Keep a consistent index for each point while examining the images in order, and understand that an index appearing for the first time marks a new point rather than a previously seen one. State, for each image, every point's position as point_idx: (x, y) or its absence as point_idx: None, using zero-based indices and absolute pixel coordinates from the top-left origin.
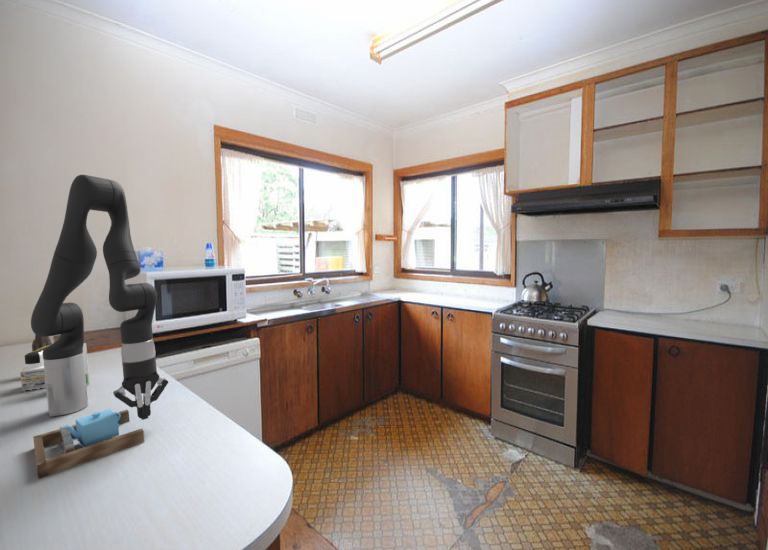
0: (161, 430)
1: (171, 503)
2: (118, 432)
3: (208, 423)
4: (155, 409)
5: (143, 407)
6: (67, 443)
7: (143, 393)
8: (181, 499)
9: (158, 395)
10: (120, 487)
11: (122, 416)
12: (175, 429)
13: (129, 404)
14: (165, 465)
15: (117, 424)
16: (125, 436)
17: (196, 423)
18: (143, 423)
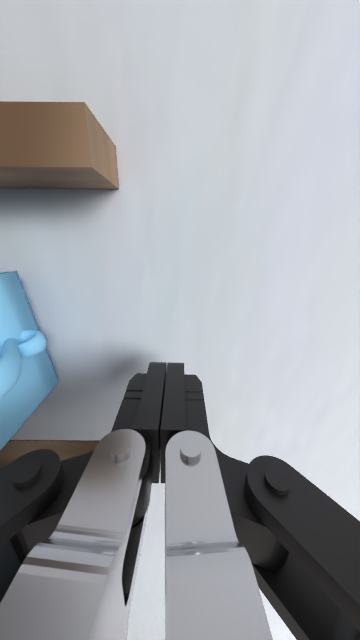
0: (209, 422)
1: (136, 630)
2: (49, 390)
3: (337, 482)
4: (299, 101)
5: (153, 476)
6: None
7: (166, 623)
8: (150, 631)
9: (307, 584)
10: None
11: (59, 177)
12: (246, 448)
13: (13, 559)
14: (156, 569)
15: (18, 424)
16: None
17: (315, 458)
18: (174, 296)
